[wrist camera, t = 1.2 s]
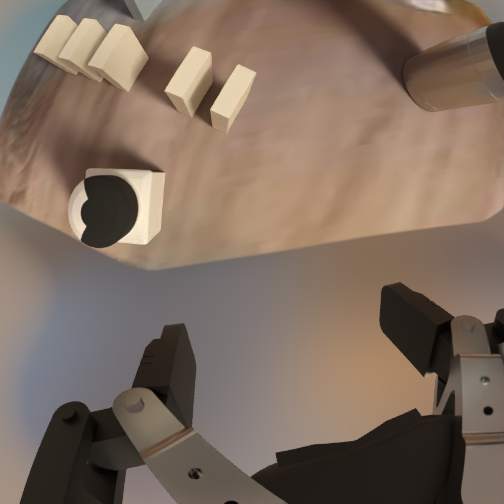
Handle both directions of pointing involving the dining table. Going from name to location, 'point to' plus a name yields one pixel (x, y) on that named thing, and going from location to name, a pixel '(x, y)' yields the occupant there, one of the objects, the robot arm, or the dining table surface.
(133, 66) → the domino
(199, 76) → the domino
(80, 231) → the medicine bottle
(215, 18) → the dining table surface
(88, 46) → the domino
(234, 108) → the domino
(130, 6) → the domino
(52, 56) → the domino
